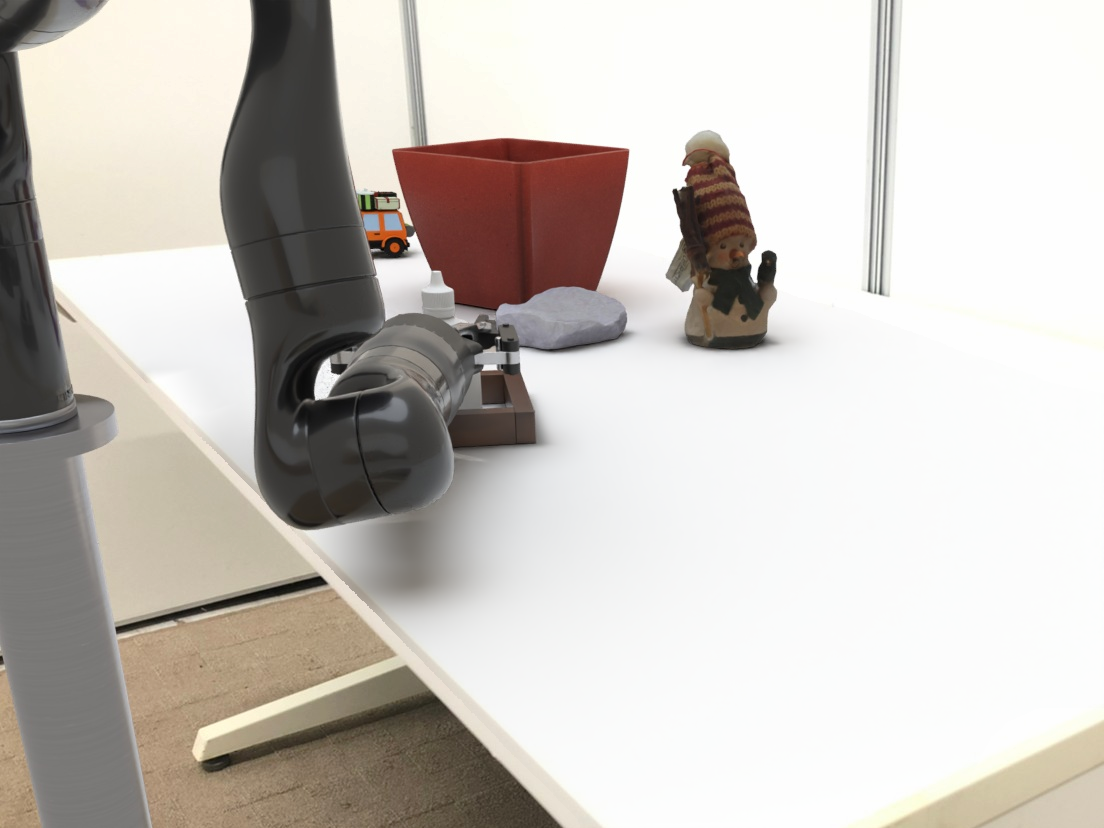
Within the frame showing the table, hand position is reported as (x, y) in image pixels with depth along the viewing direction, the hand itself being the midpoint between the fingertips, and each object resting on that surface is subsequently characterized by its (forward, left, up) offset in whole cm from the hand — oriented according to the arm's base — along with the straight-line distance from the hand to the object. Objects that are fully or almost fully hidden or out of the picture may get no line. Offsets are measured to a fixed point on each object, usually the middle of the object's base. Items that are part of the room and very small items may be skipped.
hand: (444, 327), depth 100 cm
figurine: (+28, +24, -7) cm, 37 cm away
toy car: (-7, +79, -7) cm, 79 cm away
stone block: (+13, +26, -7) cm, 30 cm away
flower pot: (+10, +46, -7) cm, 47 cm away
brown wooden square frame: (0, -2, -7) cm, 8 cm away
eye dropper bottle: (0, -2, -7) cm, 8 cm away
